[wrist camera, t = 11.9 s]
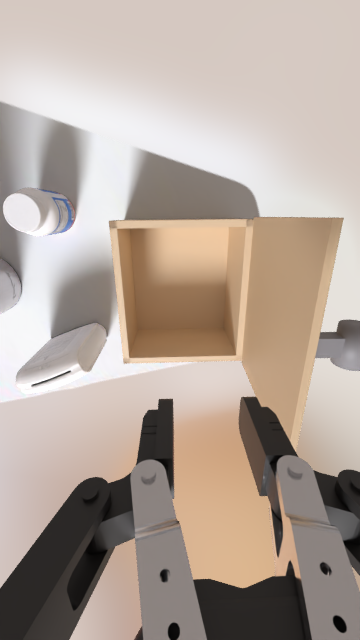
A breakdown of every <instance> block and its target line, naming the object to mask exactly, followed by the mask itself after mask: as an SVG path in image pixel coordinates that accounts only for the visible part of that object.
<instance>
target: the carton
mask: <svg viewBox="0 0 360 640" xmlns="http://www.w3.org/2000/svg"><path fill="white" fill-rule="evenodd" d="M253 223H254V219H158V220H116V221H109V227H110V236H111V246H112V256H113V265H114V275H115V284H116V294H117V303H118V313H119V323H120V332H121V342H122V351H123V361H124V363H165V362H206V361H242V350H243V339H244V327H245V315H246V304H247V292H248V281H249V269H250V258H251V246H252V234H253Z"/></svg>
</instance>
